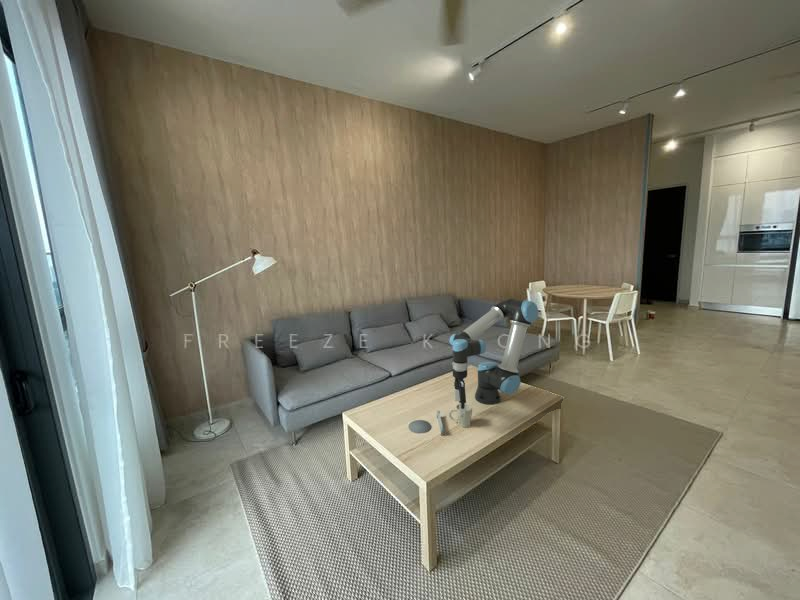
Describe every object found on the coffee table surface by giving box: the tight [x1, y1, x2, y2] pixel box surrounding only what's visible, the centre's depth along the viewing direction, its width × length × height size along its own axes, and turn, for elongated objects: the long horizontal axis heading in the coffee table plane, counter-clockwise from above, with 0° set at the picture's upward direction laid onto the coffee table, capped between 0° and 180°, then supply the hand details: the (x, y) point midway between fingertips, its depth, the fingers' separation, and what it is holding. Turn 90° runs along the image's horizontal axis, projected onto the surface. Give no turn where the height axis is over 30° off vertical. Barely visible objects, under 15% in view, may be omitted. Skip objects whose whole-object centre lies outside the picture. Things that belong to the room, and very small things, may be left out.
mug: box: [448, 403, 473, 429], centre depth 169 cm, size 8×13×10 cm, turn 78°
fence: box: [436, 410, 445, 437], centre depth 168 cm, size 2×18×4 cm, turn 0°
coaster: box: [408, 419, 432, 434], centre depth 169 cm, size 12×12×1 cm
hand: (459, 407), depth 168 cm, fingers open, 13 cm apart
